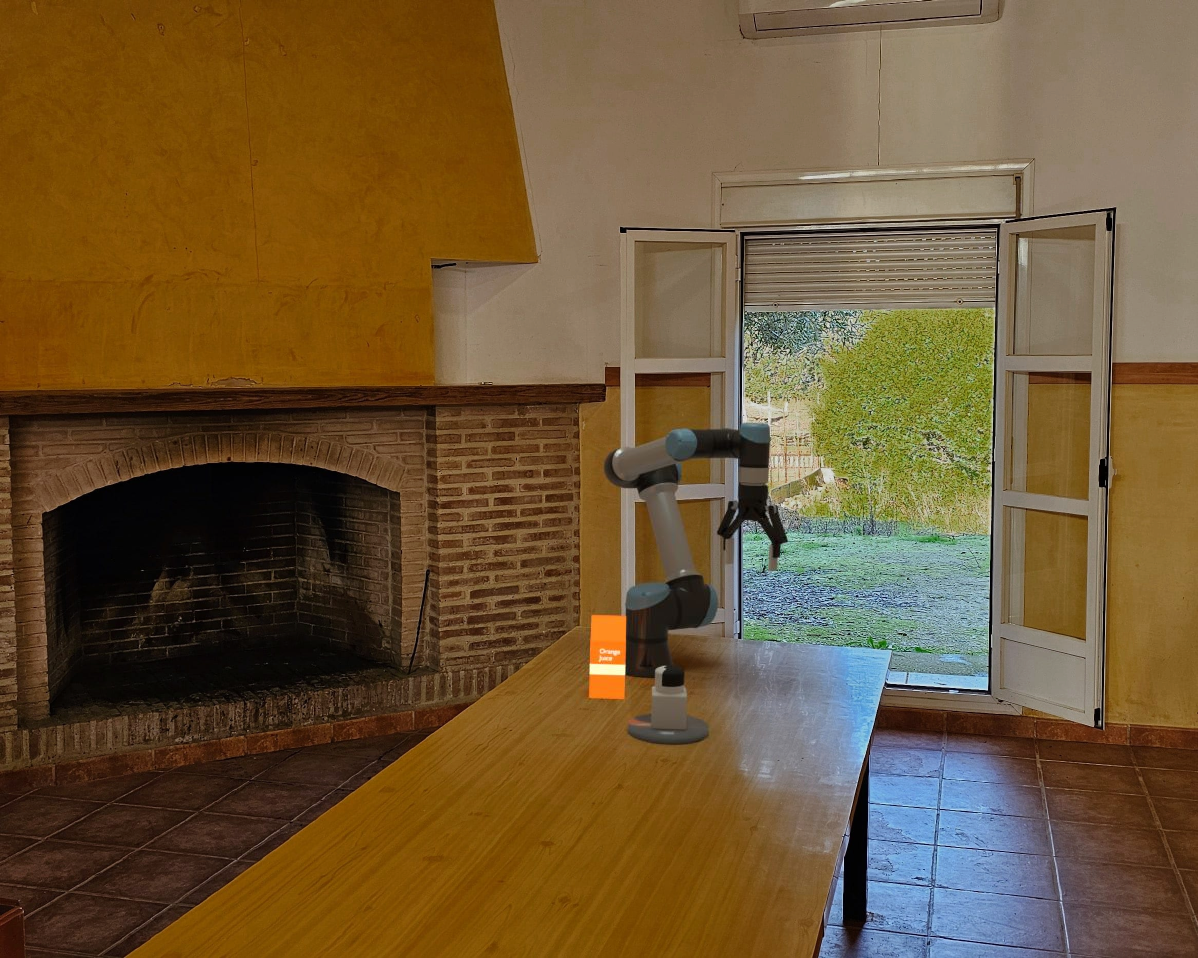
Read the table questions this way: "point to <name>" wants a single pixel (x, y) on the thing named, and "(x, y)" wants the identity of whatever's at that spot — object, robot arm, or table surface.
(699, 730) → the slate plate
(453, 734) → the table surface
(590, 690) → the orange juice
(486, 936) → the table surface
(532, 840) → the table surface
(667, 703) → the container
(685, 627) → the robot arm
